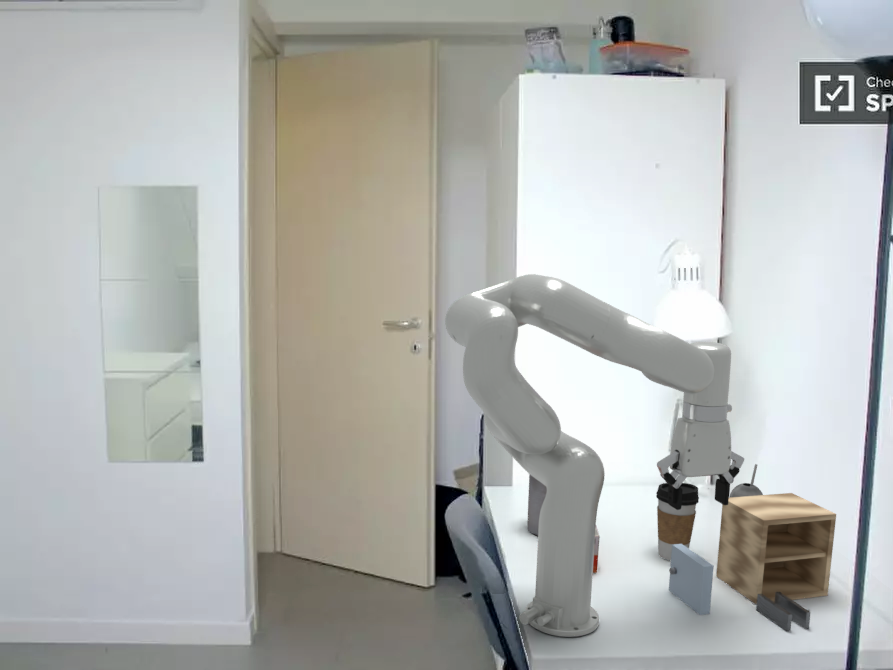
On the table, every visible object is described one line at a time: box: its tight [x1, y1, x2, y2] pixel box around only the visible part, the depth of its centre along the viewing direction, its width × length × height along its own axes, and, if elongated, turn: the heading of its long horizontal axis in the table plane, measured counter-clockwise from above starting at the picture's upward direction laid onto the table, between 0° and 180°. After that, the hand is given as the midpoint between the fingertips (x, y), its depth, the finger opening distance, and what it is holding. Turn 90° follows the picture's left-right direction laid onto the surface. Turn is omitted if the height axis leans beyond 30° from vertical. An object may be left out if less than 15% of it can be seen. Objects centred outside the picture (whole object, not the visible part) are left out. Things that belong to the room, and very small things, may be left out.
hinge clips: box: [755, 592, 812, 632], centre depth 144 cm, size 8×5×3 cm, turn 17°
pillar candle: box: [526, 473, 547, 536], centre depth 180 cm, size 10×10×15 cm
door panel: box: [668, 544, 714, 616], centre depth 149 cm, size 10×3×9 cm, turn 17°
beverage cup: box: [729, 463, 764, 498], centre depth 170 cm, size 7×7×20 cm
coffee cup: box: [655, 482, 700, 561], centre depth 169 cm, size 8×8×15 cm
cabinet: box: [715, 492, 837, 605], centre depth 156 cm, size 12×16×16 cm
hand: (698, 504), depth 147 cm, fingers open, 9 cm apart
